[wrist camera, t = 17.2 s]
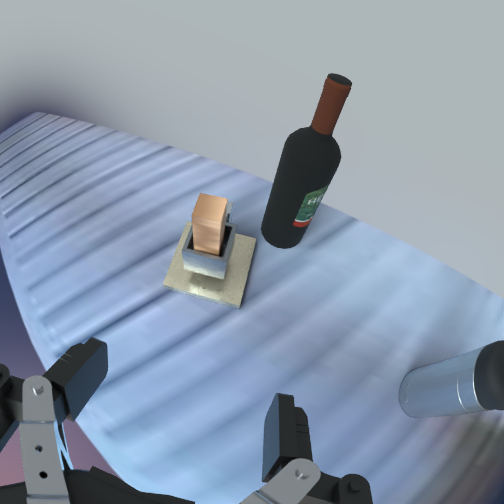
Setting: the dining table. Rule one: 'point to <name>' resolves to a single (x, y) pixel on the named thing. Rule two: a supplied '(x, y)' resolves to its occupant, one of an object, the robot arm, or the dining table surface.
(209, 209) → the tan wooden block
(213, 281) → the cup bracket
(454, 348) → the dining table surface
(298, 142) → the wine bottle
